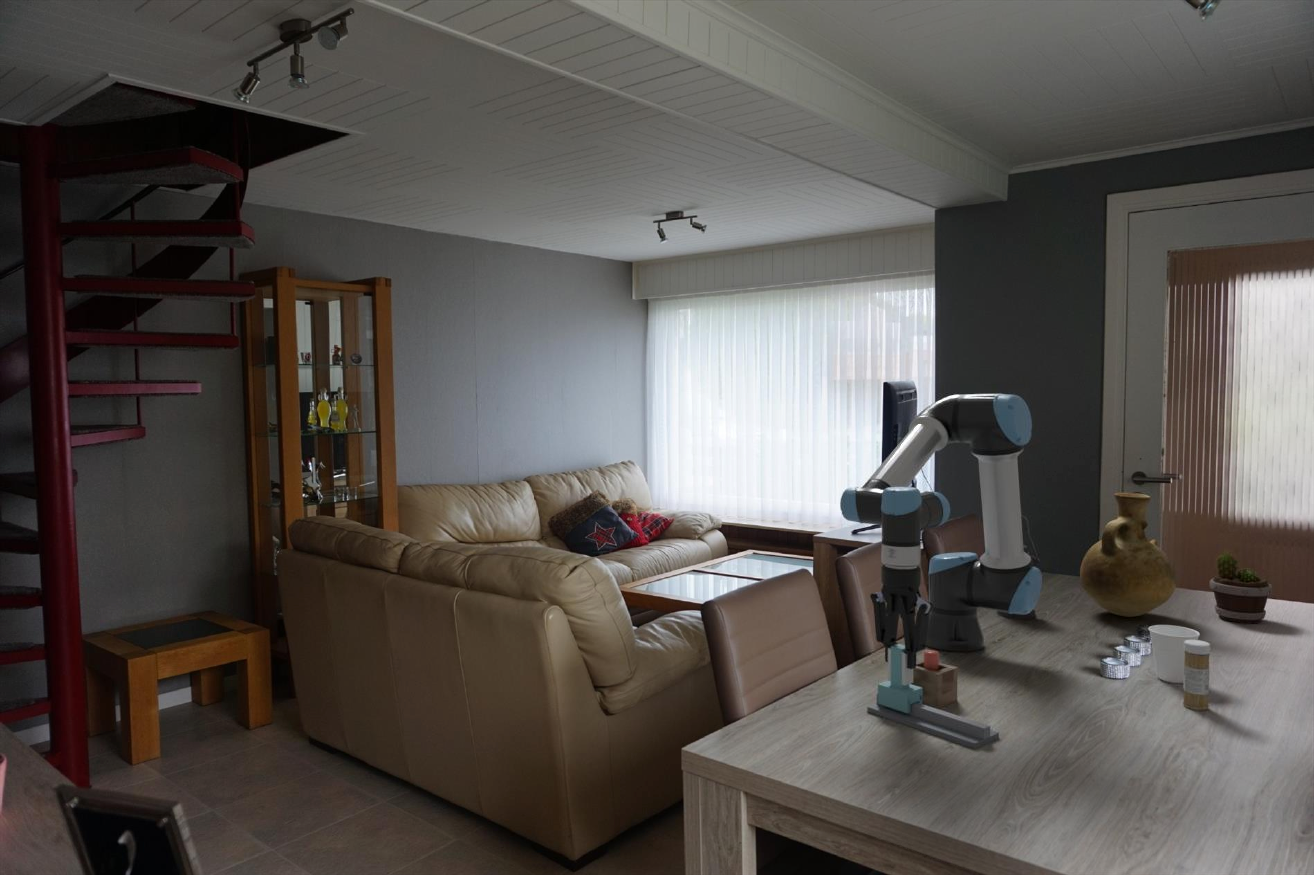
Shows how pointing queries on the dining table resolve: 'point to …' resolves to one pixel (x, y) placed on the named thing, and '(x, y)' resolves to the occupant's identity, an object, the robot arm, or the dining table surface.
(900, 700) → the carriage
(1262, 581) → the flowerpot
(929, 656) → the cylinder
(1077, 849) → the dining table surface
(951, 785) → the dining table surface
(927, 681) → the open wooden box
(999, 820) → the dining table surface
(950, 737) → the rail bed
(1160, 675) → the cup
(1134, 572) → the vase
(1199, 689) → the sprinkles bottle
